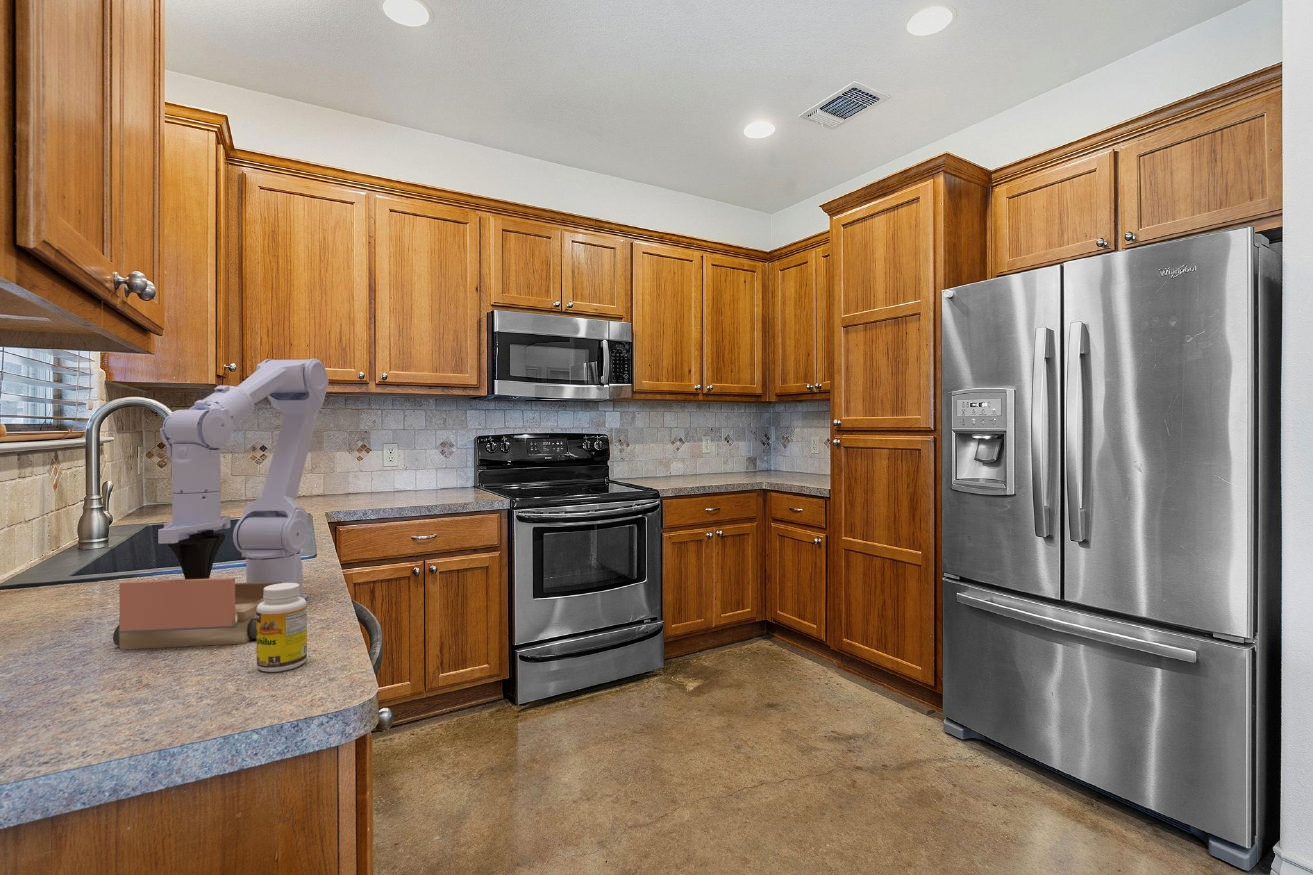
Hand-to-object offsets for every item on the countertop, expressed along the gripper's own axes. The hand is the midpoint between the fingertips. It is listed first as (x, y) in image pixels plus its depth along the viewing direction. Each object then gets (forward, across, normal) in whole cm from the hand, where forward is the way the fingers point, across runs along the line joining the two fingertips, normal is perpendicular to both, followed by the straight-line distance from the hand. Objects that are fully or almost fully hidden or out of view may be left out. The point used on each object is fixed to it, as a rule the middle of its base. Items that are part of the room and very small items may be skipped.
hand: (197, 585), depth 92 cm
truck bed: (+8, -2, 0) cm, 8 cm away
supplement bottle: (+8, +14, +17) cm, 23 cm away
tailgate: (+5, +5, 0) cm, 7 cm away
